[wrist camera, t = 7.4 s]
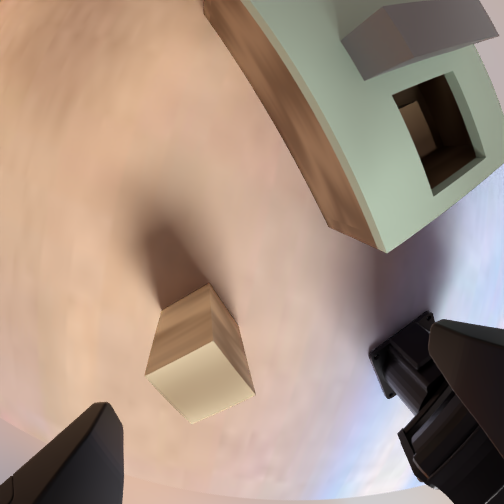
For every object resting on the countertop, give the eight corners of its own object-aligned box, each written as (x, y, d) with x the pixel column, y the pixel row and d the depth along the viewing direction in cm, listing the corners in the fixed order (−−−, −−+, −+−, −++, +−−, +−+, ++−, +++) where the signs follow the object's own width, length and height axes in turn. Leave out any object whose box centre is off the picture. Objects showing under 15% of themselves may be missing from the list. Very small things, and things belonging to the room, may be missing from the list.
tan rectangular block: (238, 326, 20) (255, 395, 13) (192, 351, 20) (191, 424, 13) (209, 282, 19) (213, 340, 12) (161, 310, 19) (144, 376, 12)
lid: (506, 152, 13) (557, 156, 9) (377, 249, 13) (438, 278, 9) (385, -65, 9) (419, -96, 5) (206, -41, 9) (211, -100, 4)
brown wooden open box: (448, 152, 19) (506, 152, 13) (328, 227, 19) (377, 249, 13) (349, -26, 14) (385, -65, 9) (203, 13, 14) (206, -41, 9)
